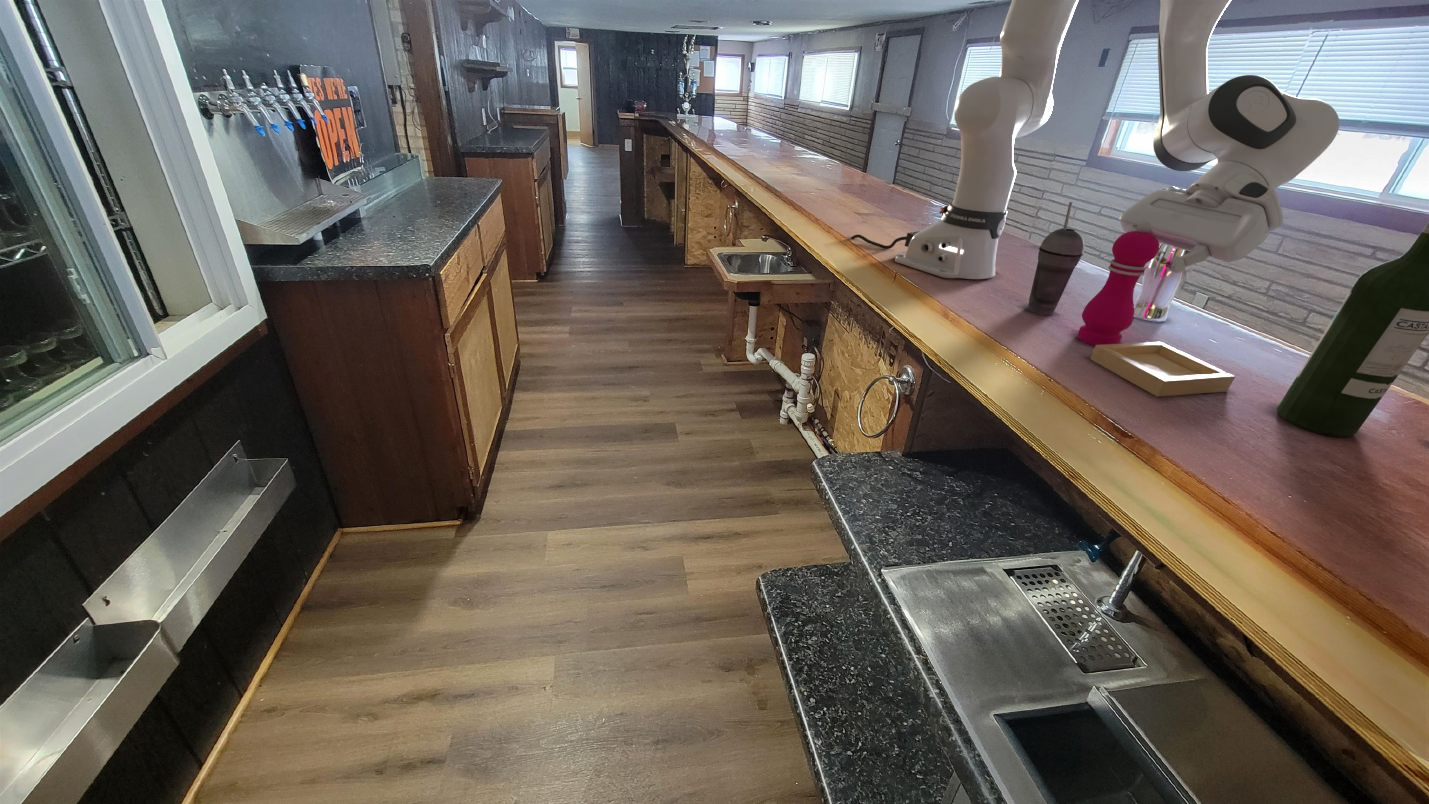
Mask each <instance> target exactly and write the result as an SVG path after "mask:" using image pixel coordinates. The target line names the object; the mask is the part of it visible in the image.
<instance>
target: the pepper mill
mask: <svg viewBox="0 0 1429 804" xmlns="http://www.w3.org/2000/svg"><path fill="white" fill-rule="evenodd" d="M1150 229H1151V224H1150V223H1149V222H1147V221H1144V222H1141V223H1139V224H1138V226H1137V231H1131V232H1127V233H1125V232H1124V233H1122V234H1121V235H1120V236H1119V237H1117V239H1115V241H1114V243H1113V245H1112V249H1111V252H1112V255H1113V257H1114V258H1113V259H1110V264H1109V265H1108V266H1107V267H1108V270H1109V274H1108V277H1107V280H1106V282H1105V283H1104V285H1103V287H1102V288H1101V289H1100V290H1099V292H1097V293H1096V295H1095V296H1093V297H1092V298H1091V300H1090V301H1088V303H1087V304H1086V305H1085V307H1084V308H1083V311H1082V313H1081V318H1082V321H1083V323H1084V324H1082V325H1081V326H1080V327H1079V329H1078V332H1077V334H1076V336H1077V338H1078V340H1080V341H1081V342H1083V343H1085V344H1088V345H1091V346H1094V347H1095V346H1096V345H1106V344H1121V341H1122V338H1123V334H1122V333H1121V332H1123V331H1125V330H1127V329H1128V328H1130V327H1131V326H1132V324H1133V320H1134V318H1135V317H1134V303H1135V302H1134V292H1135V288H1136V285H1137V283H1138V281H1139V279H1140V277H1141V276H1144V274H1145V269H1147V265H1146V264H1147V262H1149V261H1151V260H1152V259H1153V258H1154V257H1155V256H1156V255H1157V253H1158V250H1159V242H1158V239H1157V238H1156V237H1155V236H1154V235H1152V234H1150V233H1148V231H1149V230H1150Z"/></svg>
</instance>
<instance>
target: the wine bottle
mask: <svg viewBox="0 0 1429 804" xmlns="http://www.w3.org/2000/svg"><path fill="white" fill-rule="evenodd" d="M1428 335H1429V221H1428V222H1427V224H1426V225H1425V226H1424V228H1423V229H1422V230H1421V231H1420V233H1419V235H1418V236H1417V238H1416V239H1415V240H1414V241H1413V243H1412V244H1411V246H1410V247H1409V249H1408V250H1406V251H1405V252H1404V253H1403V254H1402V255H1401V256H1399V257H1396V258H1393V259H1391V260H1388V261H1385V262H1382V263H1380V264H1377V265H1375V266H1372V267H1370V268H1369V269H1367V270H1365V271H1364V272H1363V273H1361V275H1359V277H1358V278H1357V280H1356V281H1355V283H1354V284H1353V286H1352V288H1350V291H1349V292H1348V294H1347V295H1346V297H1345V299H1344V300H1343V302H1342V303H1341V305H1340V307H1339V308H1338V310H1337V311H1336V313H1335V315H1334V316H1333V318H1332V320H1331V321H1330V323H1329V324H1328V325H1327V328H1326V329H1325V331H1324V332H1323V334H1322V336H1320V339H1319V340H1318V342H1317V343H1316V345H1315V346H1314V348H1313V350H1312V351H1311V353H1310V354H1309V356H1308V358H1307V360H1306V361H1305V362H1304V364H1303V366H1302V367H1301V368H1300V371H1298V374H1297V375H1296V377H1295V378H1294V379H1293V381H1292V383H1291V384H1290V387H1289V388H1288V390H1287V391H1286V393H1285V395H1284V396H1283V398H1282V399H1281V400H1280V403H1279V404H1278V406H1277V407H1276V412H1277V413H1278V416H1279V417H1281V418H1282V419H1283V420H1285V421H1286V422H1288V423H1290V424H1292V425H1295V426H1296V427H1299V428H1301V429H1303V430H1306V431H1309V432H1313V433H1316V434H1319V435H1324V436H1329V437H1336V438H1347V437H1348V438H1349V437H1351V436H1354V435H1356V434H1357V432H1359V430H1360V429H1361V427H1362V426H1363V424H1364V423H1365V422H1366V420H1367V419H1368V418H1369V416H1370V415H1371V414H1372V412H1373V411H1374V409H1375V408H1376V407H1377V406H1378V404H1379V403H1380V401H1381V400H1382V398H1383V397H1384V396H1385V394H1387V391H1388V390H1389V389H1390V387H1391V386H1392V385H1393V383H1394V382H1395V380H1396V379H1397V377H1398V376H1399V375H1400V374H1401V373H1402V371H1403V370H1404V368H1405V367H1406V365H1408V363H1409V361H1410V360H1411V358H1412V357H1413V355H1414V354H1416V352H1417V350H1418V349H1419V347H1420V346H1421V345H1422V344H1423V342H1424V341H1425V339H1426V338H1427V336H1428Z"/></svg>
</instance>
